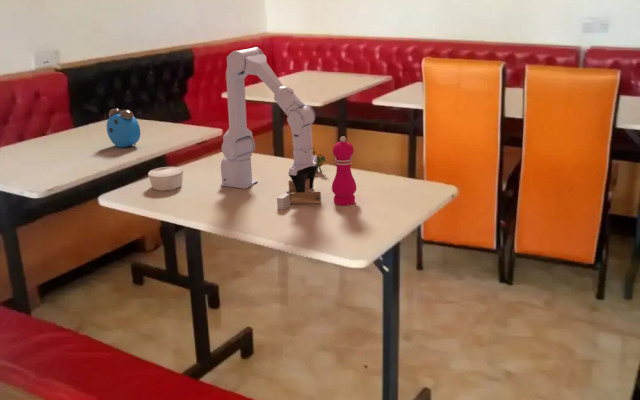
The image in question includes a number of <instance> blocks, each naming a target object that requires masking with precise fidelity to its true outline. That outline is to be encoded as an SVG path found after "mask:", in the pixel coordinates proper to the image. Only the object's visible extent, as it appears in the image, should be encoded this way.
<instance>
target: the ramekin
mask: <svg viewBox="0 0 640 400" xmlns="http://www.w3.org/2000/svg"><path fill="white" fill-rule="evenodd" d="M183 174H184V169H183V168H182V167H180V166H179V167H178V166H164V167H163V166H162V167H157V168H154V169H151V170H150V171H148V173H147V176H148V178H149V182H150V184H151V187H152V189H153V190H155V191H158V190H161V191H160V192H165V191H164V190H169V191H173V189H174V190H177V189H180V187H182V185H183V178H184V177H183V176H184V175H183ZM176 188H177V189H176Z"/></svg>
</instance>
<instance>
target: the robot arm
mask: <svg viewBox="0 0 640 400" xmlns="http://www.w3.org/2000/svg"><path fill="white" fill-rule="evenodd" d="M226 65H227V66H226V71H225V77H226V78H225V81H226V90H227V91H226V96H227V112H228V126H229V127H228V129H227V131H225V133H224V134H223V136H222V139H223V142H222V144H221V151H222V154H223V156H224V157H222V159H221V162H220V174H221V176H220V177H221V183H220V186H222V187H229V188H236V189H237V188H238V189H247V188H249V187H251V186H253V185H254V184H256V183H258V179H253V172H252V156H253V152H254V151H255V149H256V144H255V143H256V142H255V139H254V138H253V137H254V136H253V132H252V130H250V129H249V128H248V127H247V125H248V123H247V106H246V105H247V104H246V103H247V102H246V88H245V85H246V84H245V78H246V77H247V76H249V75H251V76H252V75H253V76H257V77H258V78H259V79H260V80H261V81H262V82H263V83H264V84H265V85H266V87H267V88H269V90H270V91H271V92H272V93H273V100H274V101H275V102H276V103H277V105H278V106H279V107H280V109H281V110H282V111H283V112H284V114H285V115H286V116H287V117H286V121H287V123H288V125H289V127H290V132H291V135H292V137H291V138H292V153H293V154H292V155H293V162H292V164H291V166H290V168H289V169H288V170H289V171H288V177H290V180H291V179H292V181H293V183H294V185H295V188H296V192H305V183H306V178H309V179H310V189H312V187H313V188H314V180H315V177H316V173H317V169H319V167H318V165H317V163H316V162H317V156H315V155H313V151H314V150H313V148H312V147H313V131H312V130H313V129H312V128H313V127H312V124H313V123H315V120H316V113H315V110H314V109H313V107H312V106H311V105H309V104H306V103H304V102H303V101H301V100H300V98H299V97H298V96H297V94H296V93H295V90H293V89H292V88H291V87H290V86H284V85H283V84H282V82H281V80H280V79H279V77H277V75H276V74H275V72H274V71H273V70H272V68H271V66H269V64H268V62H267V55H265V54H264V52H263V51H262V49H260V48H259V47H257V46H254V47H251V48H246V49H240V50H233V51H232V52H230V53H229V54H228V55H227V56H226ZM312 190H313V189H312Z"/></svg>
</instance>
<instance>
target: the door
mask: <svg viewBox="0 0 640 400" xmlns="http://www.w3.org/2000/svg"><path fill="white" fill-rule="evenodd" d="M321 197H322V194H321V191H310V192H291V200H290V205H297V204H298V205H299V204H303V205H304V204H322V198H321Z"/></svg>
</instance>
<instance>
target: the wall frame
mask: <svg viewBox="0 0 640 400" xmlns="http://www.w3.org/2000/svg"><path fill="white" fill-rule="evenodd" d="M312 190H314V186H313V187H312V189H310V192H312ZM276 202H277V203H276V204H277V207H276V208H277V210H280V211H281V210H284V211H285V210H287V208H288V207H290V206H291V200H290V192H289V190H287V191H286V193H282V194H280V195H279V196H278V197H276Z"/></svg>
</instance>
